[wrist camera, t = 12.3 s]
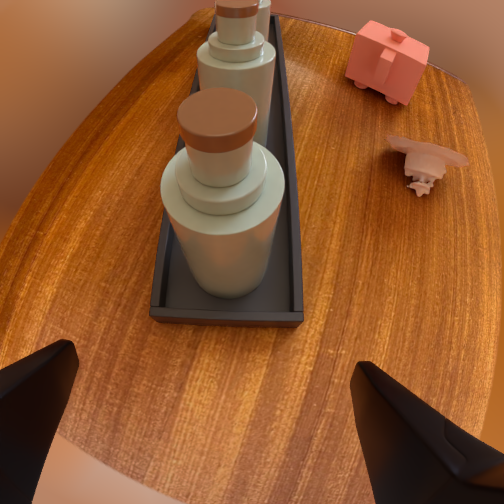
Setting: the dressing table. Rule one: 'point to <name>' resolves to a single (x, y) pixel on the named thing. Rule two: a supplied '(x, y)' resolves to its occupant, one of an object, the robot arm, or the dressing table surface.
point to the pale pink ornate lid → (425, 161)
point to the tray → (282, 253)
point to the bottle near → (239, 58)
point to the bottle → (223, 192)
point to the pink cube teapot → (387, 62)
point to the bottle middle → (262, 18)
